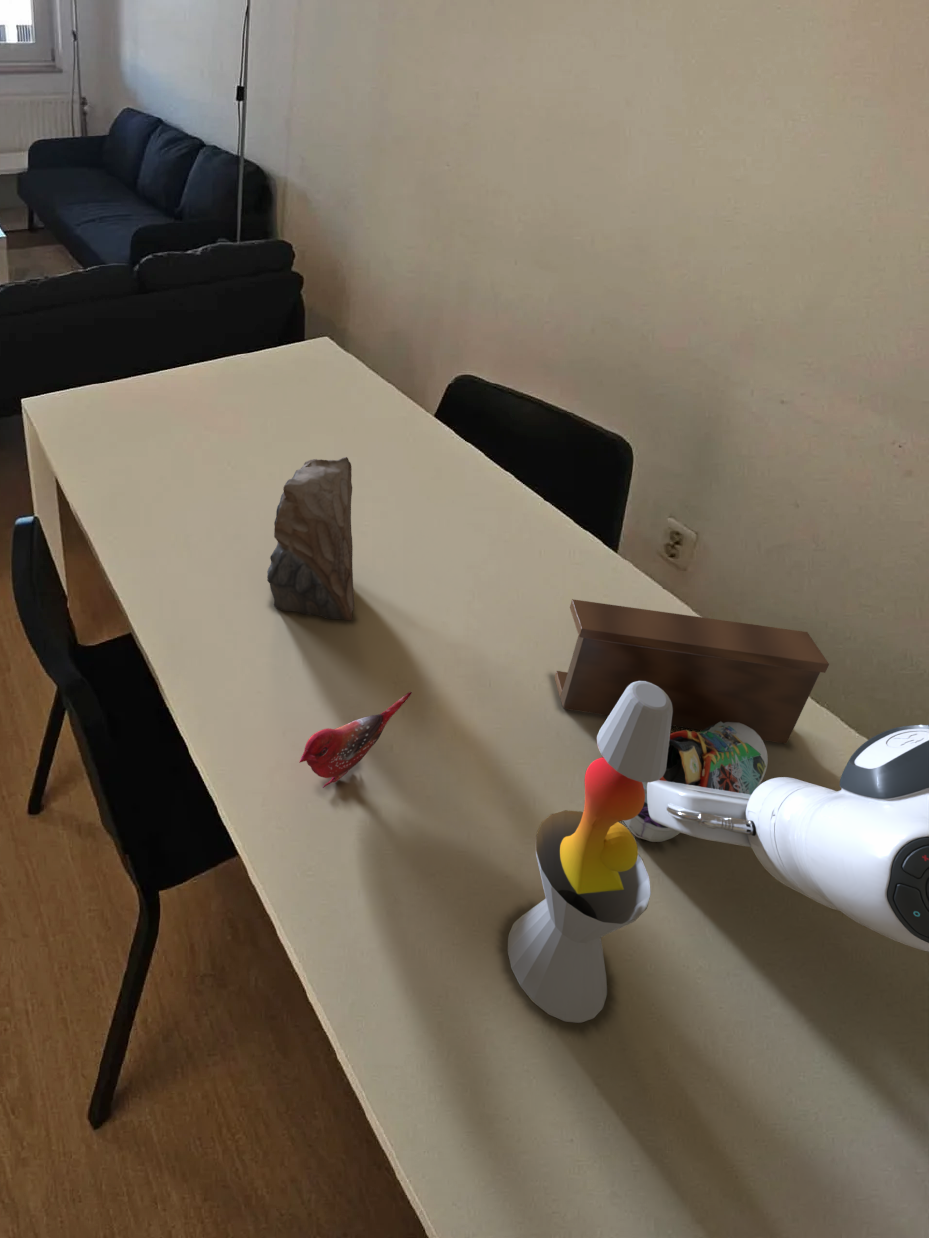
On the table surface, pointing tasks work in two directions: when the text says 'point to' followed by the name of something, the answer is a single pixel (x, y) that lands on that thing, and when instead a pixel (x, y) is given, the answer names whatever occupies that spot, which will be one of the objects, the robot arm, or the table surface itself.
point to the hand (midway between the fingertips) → (724, 804)
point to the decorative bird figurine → (345, 744)
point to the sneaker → (707, 768)
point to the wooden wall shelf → (692, 667)
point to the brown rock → (314, 542)
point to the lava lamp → (592, 864)
